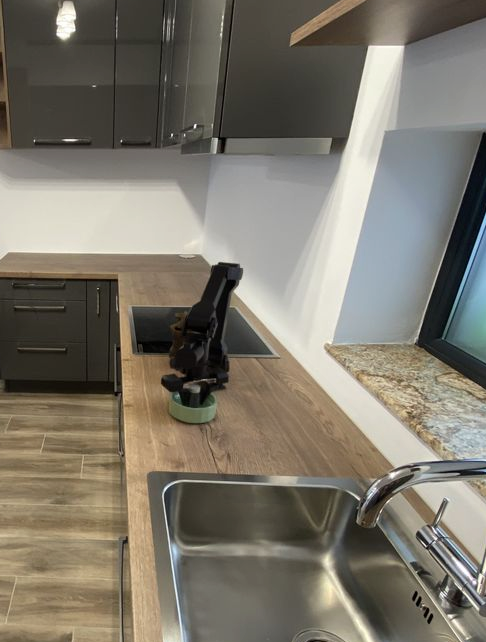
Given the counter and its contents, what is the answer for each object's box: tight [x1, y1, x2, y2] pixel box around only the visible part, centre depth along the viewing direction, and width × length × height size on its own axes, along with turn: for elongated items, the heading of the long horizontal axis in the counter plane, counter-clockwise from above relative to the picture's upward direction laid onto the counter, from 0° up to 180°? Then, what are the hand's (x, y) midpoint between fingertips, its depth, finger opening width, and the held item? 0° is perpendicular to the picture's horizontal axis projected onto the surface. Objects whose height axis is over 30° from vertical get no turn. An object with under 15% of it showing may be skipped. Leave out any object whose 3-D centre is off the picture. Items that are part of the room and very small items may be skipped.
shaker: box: [186, 383, 201, 408], centre depth 126 cm, size 4×4×8 cm
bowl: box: [168, 386, 218, 424], centre depth 127 cm, size 13×13×5 cm
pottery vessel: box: [168, 310, 196, 359], centre depth 156 cm, size 25×11×20 cm, turn 164°
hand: (192, 405), depth 127 cm, fingers open, 5 cm apart
